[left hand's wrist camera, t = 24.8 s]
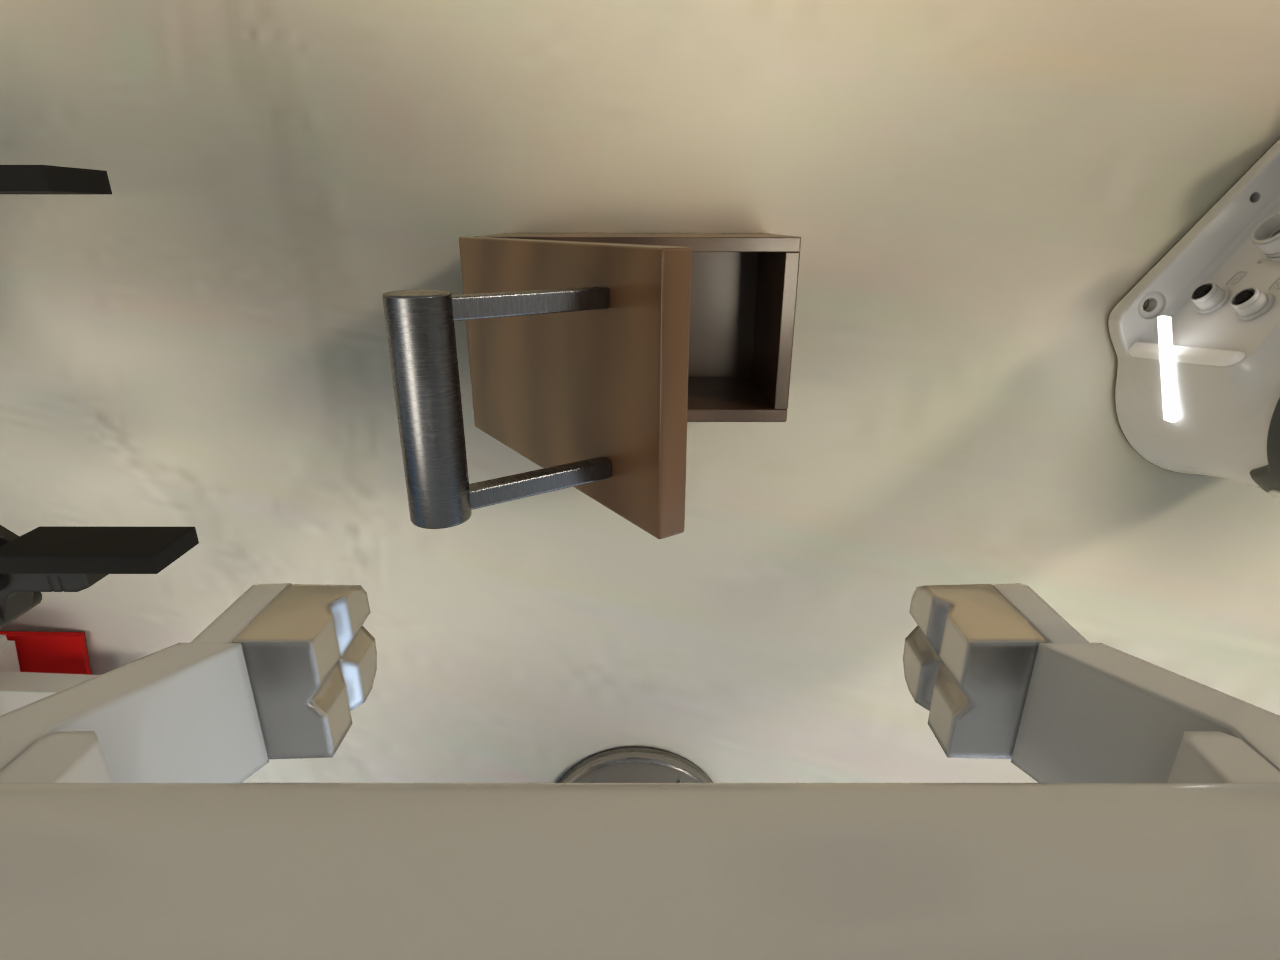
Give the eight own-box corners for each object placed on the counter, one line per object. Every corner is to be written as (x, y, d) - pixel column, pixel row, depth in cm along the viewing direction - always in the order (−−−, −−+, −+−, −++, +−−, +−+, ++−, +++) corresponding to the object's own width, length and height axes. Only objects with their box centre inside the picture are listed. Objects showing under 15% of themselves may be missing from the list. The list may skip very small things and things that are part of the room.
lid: (693, 247, 21) (414, 253, 17) (685, 532, 25) (452, 602, 20) (480, 236, 34) (293, 238, 30) (494, 423, 38) (328, 450, 33)
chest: (769, 233, 43) (801, 236, 35) (759, 385, 47) (786, 422, 38) (505, 233, 43) (471, 236, 35) (515, 384, 47) (486, 422, 38)
